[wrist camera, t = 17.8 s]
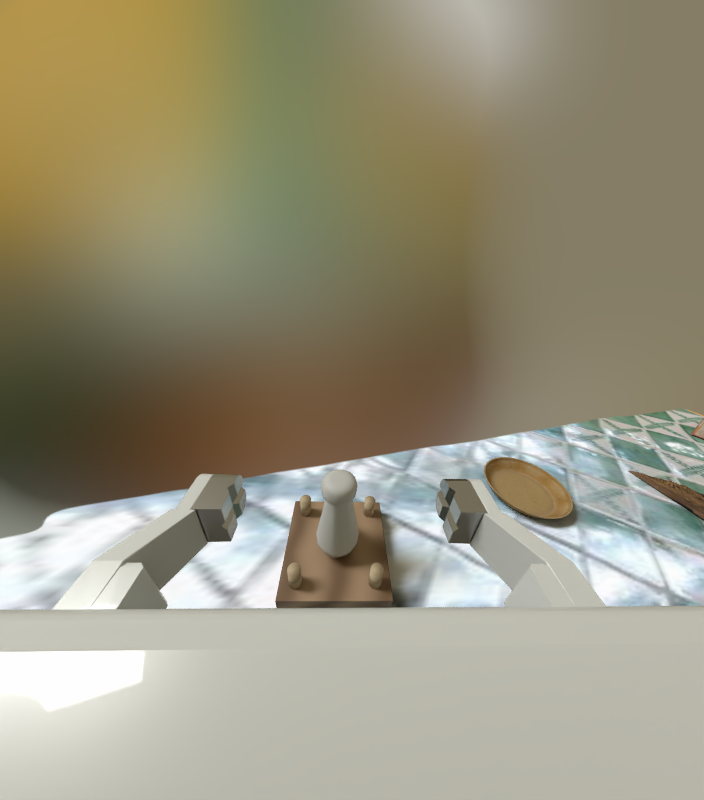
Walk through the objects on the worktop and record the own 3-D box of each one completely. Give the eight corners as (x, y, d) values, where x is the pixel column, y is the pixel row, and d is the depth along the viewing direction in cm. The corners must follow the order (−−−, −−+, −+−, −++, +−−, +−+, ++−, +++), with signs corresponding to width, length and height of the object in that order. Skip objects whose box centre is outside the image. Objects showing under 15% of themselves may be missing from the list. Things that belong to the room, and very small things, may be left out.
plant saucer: (573, 495, 50) (579, 486, 48) (557, 545, 41) (564, 535, 39) (495, 456, 59) (499, 447, 58) (468, 490, 50) (471, 480, 48)
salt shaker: (346, 519, 40) (350, 456, 33) (364, 553, 35) (373, 487, 29) (310, 534, 37) (308, 470, 31) (325, 573, 33) (326, 506, 26)
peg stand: (277, 611, 31) (272, 588, 28) (296, 511, 43) (294, 488, 40) (390, 610, 32) (396, 588, 29) (377, 512, 44) (381, 490, 41)
